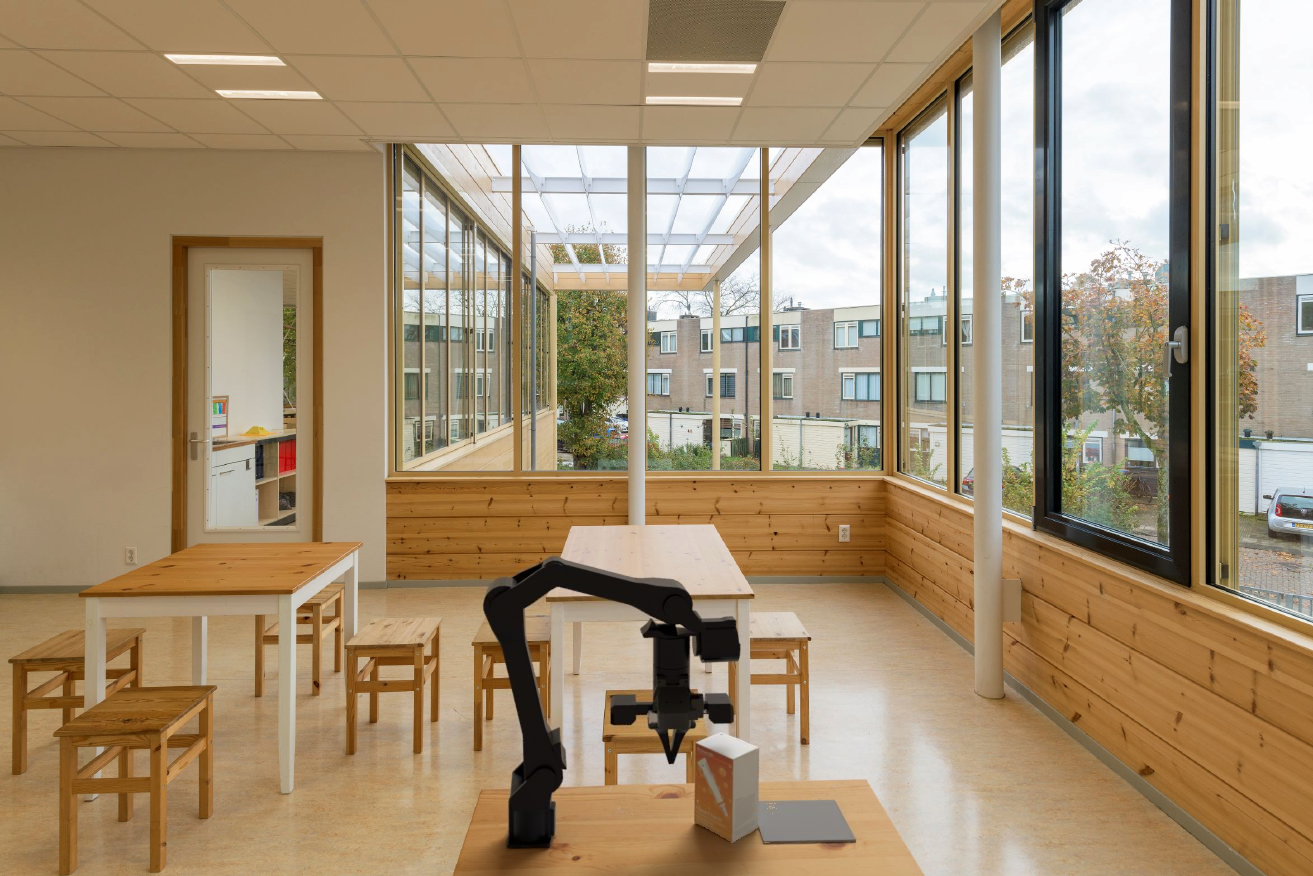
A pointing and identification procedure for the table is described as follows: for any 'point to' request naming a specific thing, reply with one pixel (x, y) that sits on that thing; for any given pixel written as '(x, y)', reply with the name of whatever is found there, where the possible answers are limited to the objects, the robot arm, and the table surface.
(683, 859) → the table surface
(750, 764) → the small box
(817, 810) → the mat
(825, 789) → the table surface
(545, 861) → the table surface
